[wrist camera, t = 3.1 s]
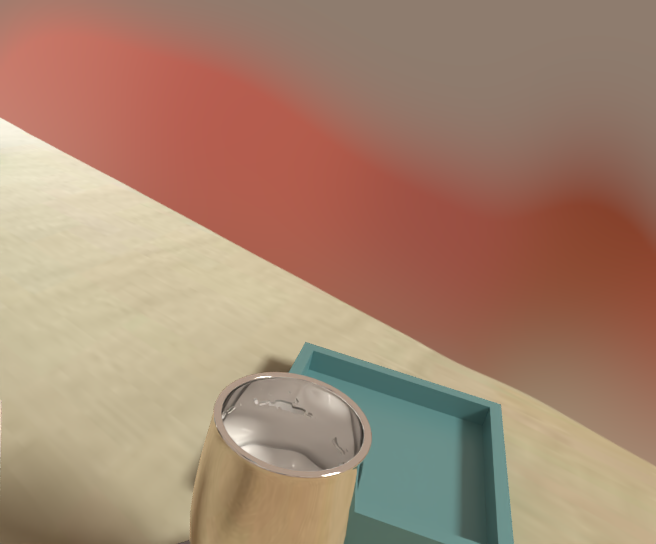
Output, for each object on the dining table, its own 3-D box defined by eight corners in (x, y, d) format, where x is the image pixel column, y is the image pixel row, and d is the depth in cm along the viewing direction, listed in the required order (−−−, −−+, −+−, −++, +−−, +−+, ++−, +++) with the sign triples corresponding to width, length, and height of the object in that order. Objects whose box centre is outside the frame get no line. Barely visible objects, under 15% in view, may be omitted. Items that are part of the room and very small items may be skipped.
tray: (226, 505, 39) (234, 469, 37) (298, 369, 55) (305, 342, 54) (499, 603, 36) (516, 568, 35) (489, 431, 53) (500, 404, 52)
